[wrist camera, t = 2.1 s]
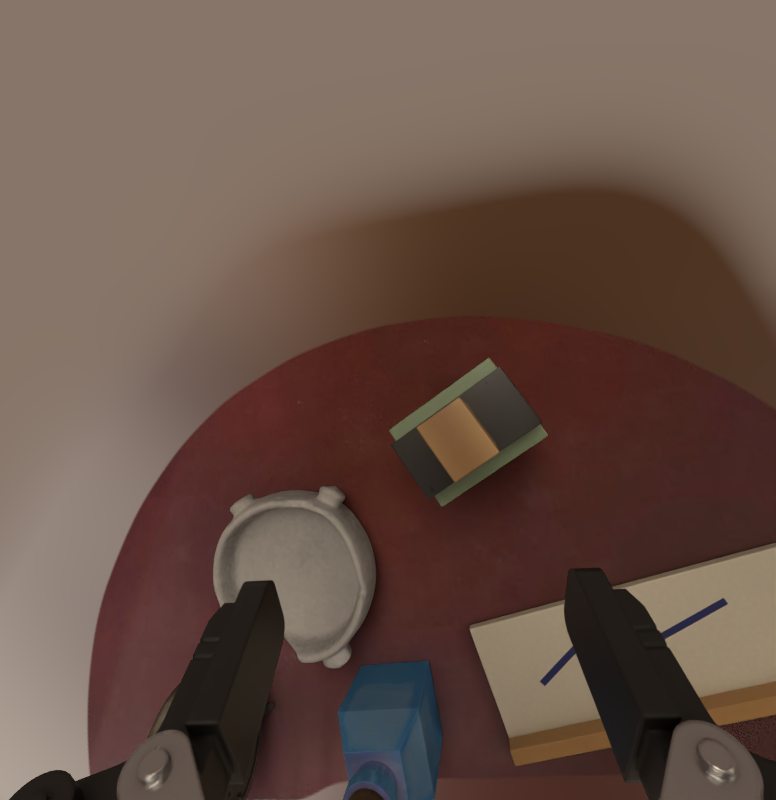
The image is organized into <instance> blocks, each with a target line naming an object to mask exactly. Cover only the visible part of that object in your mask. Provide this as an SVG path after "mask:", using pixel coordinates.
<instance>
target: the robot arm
mask: <svg viewBox="0 0 776 800" xmlns="http://www.w3.org/2000/svg"><path fill="white" fill-rule="evenodd" d="M564 618H565V624H566V628H567V632H568V635H569V637H570V640H571V642H572V645H573V648H574V650H575V653H576V656H577V658H578V661H579V663H580V666H581V669H582V671H583V674H584V676H585V679H586V682H587V684H588V687H589V689H590V692H591V695H592V697H593V700H594V703H595V705H596V708H597V710H598V713H599V716H600V718H601V721H602V723H603V726H604V729H605V731H606V734H607V737H608V739H609V742H610V744H611V747H612V750H613V752H614V755H615V757H616V760H617V763H618V765H619V768H620V771H621V773H622V776H623V778H624V781H625V783H628V782H629V783H636V782H637V783H638V782H642V784H643V786H644V789H645V791H646V794H647V796H648V798H649V800H776V762H775V761H771V760H768V759H766V758H763V757H760V756H758V755H756V754H754V753H752V752H750V751H748V750H747V749H746V748H745V747H744V746H743V745H742V744H741V743H740V742H739V741H738V740H737V739H736V738H735V737H733V736H732V735H731V734H729V733H728V732H726V731H725V730H723V729H721V728H720V727H719V726H718V725H717V724H716V723H715V722H714V720H713V719H712V718H711V716H710V715H709V713H708V711H707V710H706V708H705V706H704V705H703V703H702V701H701V700H700V698H699V696H698V695H697V693H696V691H695V690H694V688H693V686H692V685H691V683H690V681H689V680H688V678H687V676H686V675H685V673H684V671H683V670H682V668H681V666H680V665H679V663H678V661H677V660H676V658H675V656H674V655H673V653H672V651H671V649H670V648H668V647H667V643H666V641H665V639H664V638H663V636H662V634H661V633H660V631H659V630H657V626H656V624H655V623H654V621H653V619H652V618H651V616H650V614H649V613H648V611H647V609H646V608H645V606H644V605H643V604H642V603H641V602H640V601H639V600H638V599H636V598H635V597H634V596H633V595H632V594H631V593H630V592H629V591H628V590H627V589H613V588H612V586H611V584H610V583H609V581H608V579H607V577H606V575H605V573H604V572H603V571H602V569H600V568H579V569H570V570H569V572H568V578H567V586H566V595H565V603H564ZM284 632H285V621H284V615H283V611H282V608H281V604H280V601H279V597H278V593H277V590H276V586H275V583H274V581H272V580H264V581H246V582H244V583H243V585H242V586H241V589H240V591H239V593H238V596H237V598H236V601H235V603H224V604H223V605H222V606H221V607H220V609H219V610H218V611H217V612H216V613H215V614H214V615H213V617H212V618H211V619H210V620H209V622H208V624H207V626H206V628H205V631H204V633H203V635H202V637H201V639H200V640H201V641H200V644H198V646H197V648H196V650H195V652H194V655H193V660H191V661H190V663H189V666H188V668H187V670H186V672H185V674H184V676H183V679H182V681H181V683H180V685H179V687H178V690H177V692H176V694H175V696H174V698H173V700H172V703H171V705H170V707H169V709H168V711H167V713H166V716H165V718H164V720H163V722H162V724H161V726H160V728H159V729H158V731H157V732H156V734H155V735H153V736H151V737H149V738H148V739H147V740H145V741H144V742H143V743H142V744H140V745H139V746H138V747H137V748H136V749H135V751H134V752H133V753H132V754H131V755H130V757H129V758H128V760H127V761H125V762H123V763H121V764H119V765H117V766H114V767H112V768H109V769H106V770H104V771H101V772H99V773H96V774H93V775H91V776H88V777H85V778H83V779H81V780H78V781H75V780H74V779H73V778H72V776H71V775H70V774H69V773H67V772H66V771H62V770H55V771H50V772H47V773H44V774H42V775H40V776H38V777H36V778H34V779H33V780H31V781H29V782H28V783H27V784H25V785H24V786H23V787H22V788H21V789H20V790H18V791H17V792H16V793H15V794H14V795H13V796H12V797H11V798H10V799H9V800H224V799H225V796H226V792H227V789H228V786H229V784H245V781H246V777H247V774H248V770H249V766H250V762H251V759H252V755H253V751H254V748H255V744H256V740H257V736H258V733H259V729H260V725H261V722H262V718H263V714H264V710H265V707H266V703H267V699H268V696H269V692H270V688H271V685H272V681H273V677H274V673H275V670H276V666H277V662H278V659H279V655H280V651H281V647H282V644H283V639H284Z"/></svg>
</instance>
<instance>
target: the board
mask: <svg viewBox="0 0 776 800" xmlns="http://www.w3.org/2000/svg"><path fill="white" fill-rule="evenodd" d="M612 588H613V589H627V590H628V591H629V592H630V593H631V594H632V595H633V596H634V597H635V598H636V599H638V600H639V601H640V602H641V603H642V604H643V605H644V606H645V608H646V609H647V611H648V613H649V614H650V616H651V618H652V619H653V621H654V623H655V624H656V626H657V630H659V631H660V633H661V634H662V636H663V638H664V639H665V641H666V643H667V647H668V648H670V649H671V651H672V653H673V655H674V656H675V658H676V660H677V661H678V663H679V665H680V666H681V668H682V670H683V671H684V673H685V675H686V676H687V678H688V680H689V681H690V683H691V685H692V686H693V688H694V690H695V691H696V693H697V695H698V696H699V698H700V700H701V701H702V703H703V705H704V706H705V708H706V710H707V711H708V713H709V715H710V716H711V718H712V719H713V720H714V722H715V723H716V724H717V725H718V726H720V725H725V724H730V723H735V722H741V721H746V720H751V719H756V718H761V717H766V716H771V715H776V543H772V544H769V545H765V546H761V547H757V548H754V549H750V550H746V551H743V552H739V553H735V554H732V555H728V556H724V557H720V558H717V559H713V560H709V561H706V562H702V563H698V564H695V565H691V566H687V567H683V568H680V569H676V570H672V571H669V572H665V573H661V574H658V575H654V576H650V577H646V578H643V579H639V580H635V581H632V582H628V583H624V584H621V585H617V586H613V587H612ZM564 603H565V600H561V601H558V602H554V603H550V604H547V605H543V606H539V607H535V608H532V609H528V610H524V611H521V612H517V613H513V614H510V615H506V616H502V617H498V618H495V619H491V620H487V621H484V622H480V623H476V624H473V625H470V632H471V635H472V638H473V641H474V643H475V646H476V649H477V652H478V654H479V657H480V660H481V663H482V665H483V668H484V671H485V674H486V676H487V679H488V682H489V684H490V687H491V690H492V693H493V695H494V698H495V701H496V704H497V706H498V709H499V712H500V715H501V717H502V720H503V723H504V726H505V728H506V731H507V734H508V737H509V745H510V753H511V755H512V758H513V761H514V764H515V766H520V765H525V764H530V763H535V762H540V761H545V760H550V759H555V758H560V757H565V756H570V755H575V754H580V753H585V752H590V751H595V750H600V749H605V748H610V747H611V744H610V742H609V739H608V737H607V734H606V731H605V729H604V726H603V723H602V721H601V718H600V716H599V713H598V710H597V708H596V705H595V703H594V700H593V697H592V695H591V692H590V689H589V687H588V684H587V682H586V679H585V676H584V674H583V671H582V669H581V666H580V663H579V661H578V658H577V656H576V653H575V650H574V648H573V645H572V642H571V640H570V637H569V635H568V632H567V628H566V624H565V618H564Z"/></svg>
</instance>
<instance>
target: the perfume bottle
mask: <svg viewBox="0 0 776 800" xmlns="http://www.w3.org/2000/svg"><path fill="white" fill-rule="evenodd" d="M338 716H339V723H340V729H341V736H342V743H343V750H344V757H345V763H346V768H347V774H348V780H349V783H348V786H347V789H346V792H345V794H344V798H343V800H433V799H435V792H436V785H437V777H438V769H439V761H440V754H441V746H442V738H443V734H442V728H441V723H440V717H439V712H438V707H437V701H436V696H435V691H434V685H433V680H432V674H431V669H430V664H429V661H417V662H403V663H389V664H375V665H361V667H360V669H359V671H358V673H357V675H356V677H355V679H354V681H353V683H352V685H351V687H350V689H349V691H348V693H347V695H346V697H345V699H344V701H343V703H342V705H341V707H340V709H339V711H338Z"/></svg>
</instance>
